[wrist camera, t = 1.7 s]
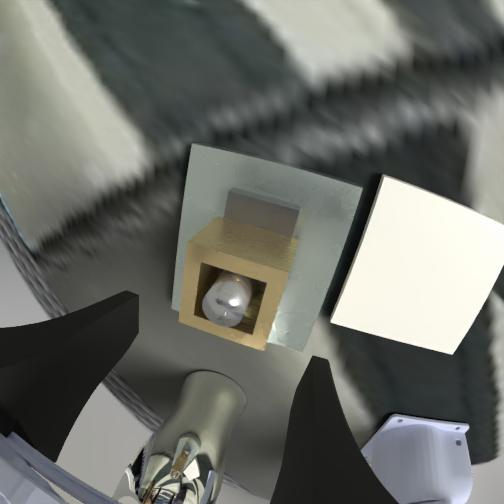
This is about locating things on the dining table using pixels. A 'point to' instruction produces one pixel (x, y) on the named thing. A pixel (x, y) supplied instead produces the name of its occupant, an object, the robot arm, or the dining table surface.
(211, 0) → the dining table surface
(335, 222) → the grey plate with post
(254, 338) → the tan hollow boxy piece
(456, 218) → the board
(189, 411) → the beer glass
